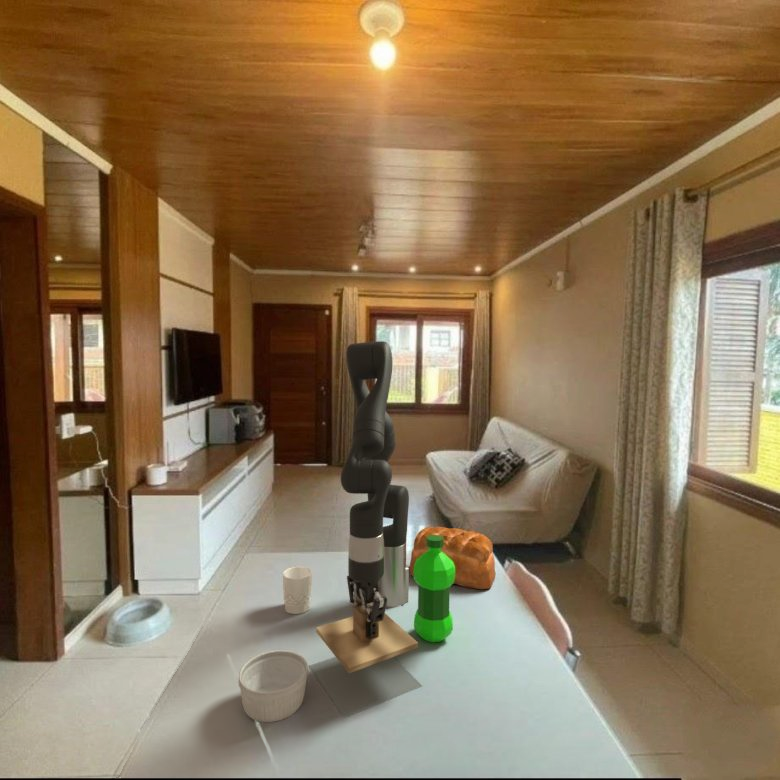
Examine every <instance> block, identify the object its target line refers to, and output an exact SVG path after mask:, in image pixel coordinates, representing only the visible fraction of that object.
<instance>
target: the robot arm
mask: <svg viewBox="0 0 780 780" xmlns="http://www.w3.org/2000/svg"><path fill="white" fill-rule="evenodd" d="M345 354H346V358H345V359H346V365H347V371H348V376H349V380H350V384H351V385H350V386H351V388H352V393H353V398H354V402H355V403H354V404H355V408H356V412H355V413H354V414H355V415H354V418H353V423H352V424H353V426H352V436H351V438H352V439H351V445H350V449H349V452H348V455H347V457H346V459H345V461H344V463H343V466H342V470H341V473H340V484H341V487H342V488H343V490H344V491H345V492H346V493H348V494H354V495H356V494H357V495H358V494H361V495H362V494H366V495H367V501H362V502H359V503H354V504H353V505H352V506H351V507H350V510H349V535H348V536H349V537H348V545H347V546H348V550H347V551H348V552H347V553H348V555H347V556H348V561H347V563H348V565H347V566H348V571H347V572H348V575H347V576H346V580H347V589H348V595H349V602H350V604H351V605H353V606H355V605H359V604H362V608H363V610H365V614H366V637H367V638H368V639H371V638H374V637H376V635H377V622H379V621H382V620H383V618H384V613H385V614H386V609H387V608H390V609H391V608H398V607H400V606H403V605H404V604H405V603H406V602H407V603H408V602H409V587H410V585H409V583H410V576H409V575H410V573H409V570H410V567H408V566H407V535H408V523H409V522H408V519H409V506H410V505H409V503H410V494H409V490H408V488H407V487H406V486H404V485H397V484H391V483H392V479H393V470H392V467H391V465H390V464H389V461H390V459H391V457H392V456H393V454H394V452H395V448H396V446H397V442H396V441H397V440H396V433H395V425H394V421H393V419H392V417H391V416H390V415H389V413H388V412H387V410H386V409H387V406H388V405H387V403H388V399H389V393H390V387H391V382H392V381H391V380H392V376H393V375H392V374H393V354H392V349H391V346H390V344H389V343H388V342H387V341H382V340H381V341H380V340H379V341H368V342H367V341H366V342H357V343H351V344H349V345H348V346H347V349H346V353H345ZM366 380H376V381H375V383H374V385H373V387H372V389H371V390H369V387H368V385H367V382H366ZM384 518H385V519H392V524H389V525H385V526H384ZM369 603H372V604H370V605H367V604H369ZM370 610H372V612H371V615H370ZM378 614H379V615H378Z"/></svg>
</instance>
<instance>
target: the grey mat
mask: <svg viewBox="0 0 780 780" xmlns="http://www.w3.org/2000/svg"><path fill="white" fill-rule="evenodd" d="M308 669H309V670H311V672H312V674H313V675H314V676H315V678H316V679H317V680H318V683H319V684H320V685H321V687H322V688H323V689H324V691H325V693H326V694H327V696H328V697H329V699H330V700H331V702H332V703H333V705H334V706H335V707H336V709H337V710H338V712H339V713H340V714H341V716H342V718H344V719H345V718H348V717H351V716H353V715H355V714H357V713H360V712H362V711H365V710H368V709H370V708H373V707H375V706H378V705H380V704H383V703H385V702H387V701H389V700H392V699H394V698H397V697H399V696H402V695H404V694H407V693H409V692H411V691H413V690H416V689H419V688H421V687H423V685H422V684H421V683H420V682H419V681H418V680H417V679H416V678H415V677H414V676H413V675H412V674H411V673H410V672H409V671H408V669H406V667H404V666H403V665H402V663H400V662H399V660H397V659H396V657H395V656H394V657H391V658H389V659H386V660H383V661H381V662H378V663H375V664H373V665H370V666H367V667H365V668H362V669H359V670H357V671H354V672H351V673H348V671H347V670H346V669H345V668H344V666H343V665H342V664H341V663H340V661H339V660H338V659H337V658H336V656H334V657H331V658H327V659H325V660H322V661H318V662H316V663H312V664H310V665H309V664H308Z"/></svg>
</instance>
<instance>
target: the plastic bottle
mask: <svg viewBox="0 0 780 780" xmlns="http://www.w3.org/2000/svg"><path fill="white" fill-rule="evenodd" d="M426 546H428V551H427V552H425V553H424V554H422V555H421V556H420V557H419V558H418V559H416V562H415V564H414V571H413V575H414V577H413V580H414V582H415V583H417V585H418V588H417V589H418V590H417V591H418V592H417V593H418V594H417V597H418V598H417V610H416V612H415V614H414V617H413V618H414V620H413V628H414V631H415V632H416V634H418V636H419V637H421V638H422V639H423V640H425V641H427V642H430V643H441V642H443V641H444V640H445V639H446V638H448V637H449V636H450V635H451V634H452V632H453V626H454V625H453V616H452V613H451V611H450V590H451V589H450V588H451V586H452V585H454V584H453V583H454V580H455V565H454V563H453V561H452V560H451V559H450V558H449V557H448V556H447V555H445V554H444V553H443V552H442V551H441V547H443V537H442V536H440V535H429V536H427V539H426Z"/></svg>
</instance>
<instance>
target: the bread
mask: <svg viewBox="0 0 780 780" xmlns="http://www.w3.org/2000/svg"><path fill="white" fill-rule="evenodd" d="M429 535H440V536H442V537H443V547H441V551H442V552H443V553H444V554H445V555H447V556H448V557H449V558H450V559H451V560H452V561H453V563H454V565H455V580H454V583H453V584H452V585H455V584H456V585H458V586H461V587H465V588H470V589H477V590H478V589H479V590H487V589H490V588H492V585H493V584H494V581H495V579H496V574H497V573H496V570H495V568H496V567H495V566H496V565H495V564H496V562H495V557H494V554H493V551H494V549H493V547H494V545H493V542H492V541H491V540H490V539H489V538H488V536H486V535H485V534H483V533H480V532H478V531H475V530H464V529H461V528H455V527H452V528H448V527H442V526H434V527H433V526H427V527H424V528H423V529H420V531H419V532H418V533H417V534H416V535H415V538H414V540H413V547H412V551H411V555H410V562H409V575H410V576H412V577H413V578H414V575H413V571H414V564H415V562H416V559H418V558H419V557H420V556H421V555H422V554H424V553H425V552H427V551H428V546H426V539H427V536H429Z"/></svg>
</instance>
